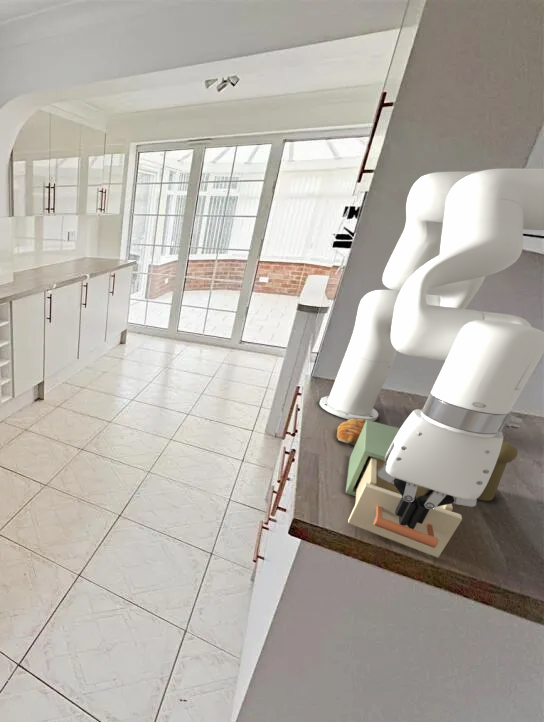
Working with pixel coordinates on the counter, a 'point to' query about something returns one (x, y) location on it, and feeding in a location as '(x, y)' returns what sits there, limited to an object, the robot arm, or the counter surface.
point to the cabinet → (368, 450)
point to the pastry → (350, 431)
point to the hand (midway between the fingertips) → (405, 521)
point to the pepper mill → (498, 470)
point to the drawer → (379, 515)
